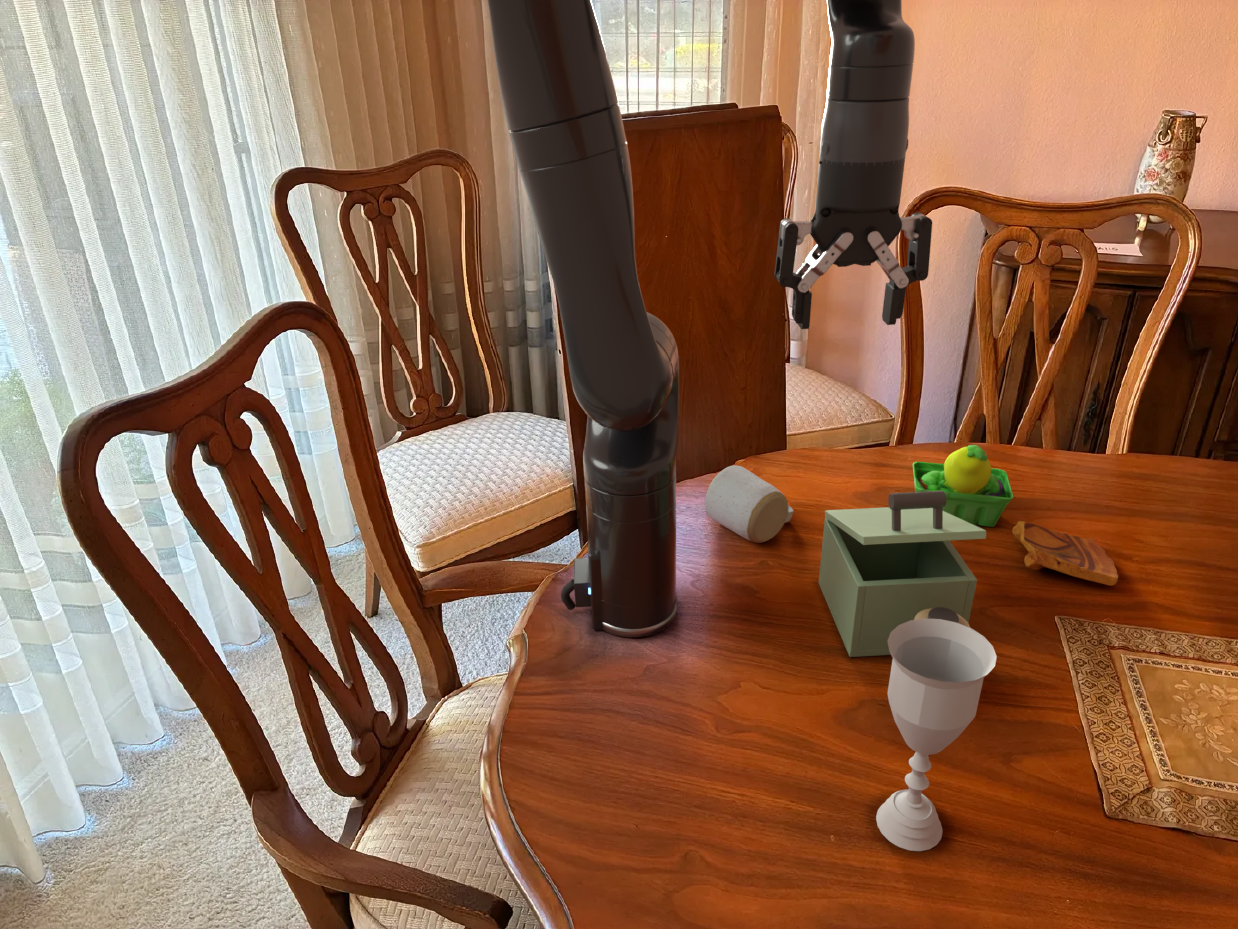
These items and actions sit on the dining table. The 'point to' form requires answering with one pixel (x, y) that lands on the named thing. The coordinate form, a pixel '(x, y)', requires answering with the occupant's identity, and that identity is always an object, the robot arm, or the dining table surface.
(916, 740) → the chalice
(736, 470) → the ceramic mug
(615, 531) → the robot arm
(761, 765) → the dining table surface
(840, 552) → the bread box
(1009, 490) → the fruit basket
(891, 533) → the bread box lid
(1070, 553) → the pottery fragment
